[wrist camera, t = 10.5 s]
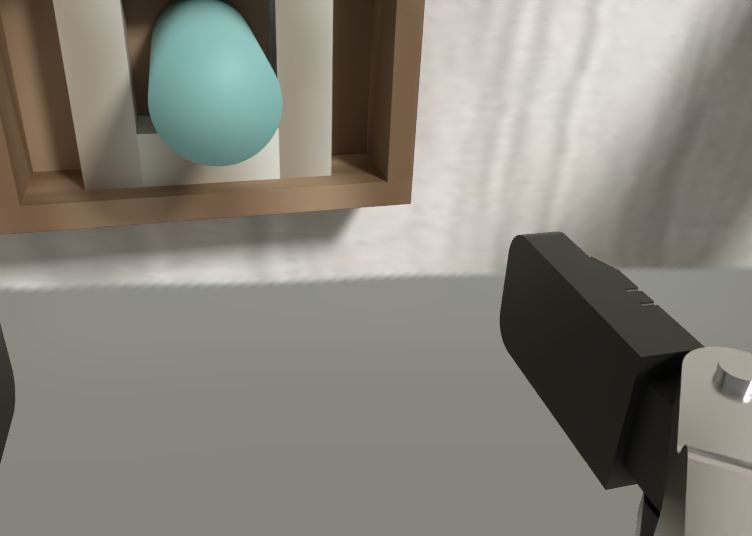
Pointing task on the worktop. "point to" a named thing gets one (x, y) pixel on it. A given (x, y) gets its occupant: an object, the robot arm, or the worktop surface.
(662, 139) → the worktop surface
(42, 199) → the box
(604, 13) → the worktop surface
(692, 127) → the worktop surface
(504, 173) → the worktop surface
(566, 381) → the robot arm
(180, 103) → the peg
